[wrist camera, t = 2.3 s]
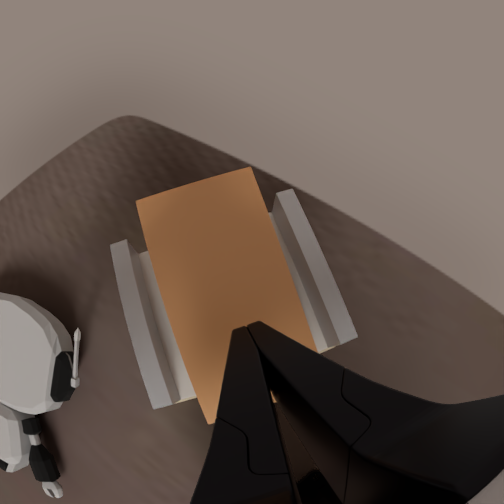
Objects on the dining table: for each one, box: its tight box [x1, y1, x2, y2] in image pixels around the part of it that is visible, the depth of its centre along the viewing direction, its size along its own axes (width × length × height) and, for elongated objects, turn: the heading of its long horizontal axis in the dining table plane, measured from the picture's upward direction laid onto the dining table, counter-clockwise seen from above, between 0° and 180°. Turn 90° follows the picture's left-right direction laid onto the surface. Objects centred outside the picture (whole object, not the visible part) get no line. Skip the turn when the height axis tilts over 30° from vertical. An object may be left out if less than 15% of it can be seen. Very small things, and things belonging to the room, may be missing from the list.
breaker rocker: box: [136, 166, 318, 425], centre depth 12 cm, size 9×5×2 cm, turn 20°
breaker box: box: [110, 188, 358, 409], centre depth 17 cm, size 8×12×10 cm, turn 110°
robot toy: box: [0, 292, 81, 498], centre depth 16 cm, size 12×4×15 cm
